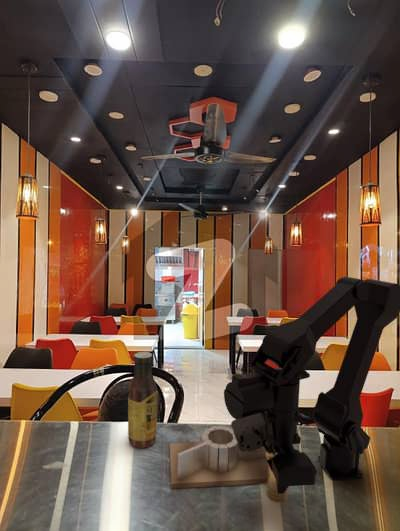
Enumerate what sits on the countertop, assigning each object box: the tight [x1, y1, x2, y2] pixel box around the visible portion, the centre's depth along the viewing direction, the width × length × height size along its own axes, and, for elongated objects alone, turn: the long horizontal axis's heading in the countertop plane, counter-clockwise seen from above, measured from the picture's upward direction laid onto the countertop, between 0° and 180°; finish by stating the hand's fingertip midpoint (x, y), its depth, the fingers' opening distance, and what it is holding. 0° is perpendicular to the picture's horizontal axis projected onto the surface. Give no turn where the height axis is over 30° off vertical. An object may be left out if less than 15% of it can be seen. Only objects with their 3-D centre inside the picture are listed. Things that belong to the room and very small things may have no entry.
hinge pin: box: [266, 447, 288, 504], centre depth 65 cm, size 5×5×8 cm
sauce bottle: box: [127, 351, 158, 449], centre depth 80 cm, size 7×6×20 cm
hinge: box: [178, 425, 266, 480], centre depth 72 cm, size 19×9×5 cm, turn 96°
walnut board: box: [169, 441, 268, 490], centre depth 74 cm, size 20×12×1 cm, turn 96°
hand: (277, 484), depth 65 cm, fingers closed on hinge pin, 4 cm apart
